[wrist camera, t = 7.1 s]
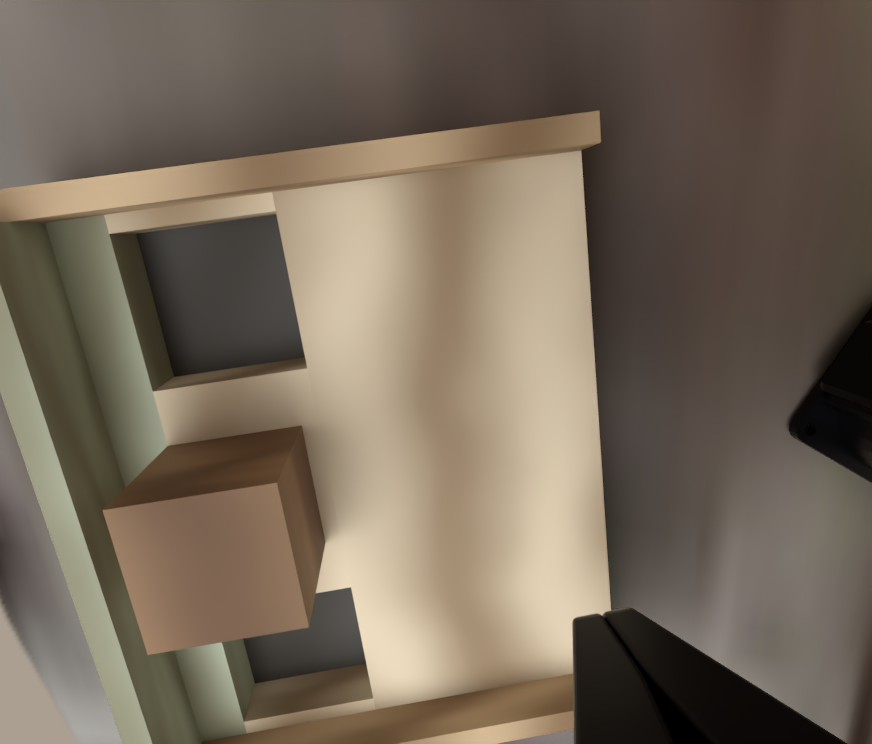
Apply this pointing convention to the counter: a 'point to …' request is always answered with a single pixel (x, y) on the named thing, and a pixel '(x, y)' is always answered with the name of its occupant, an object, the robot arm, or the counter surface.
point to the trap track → (332, 419)
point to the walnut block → (220, 540)
